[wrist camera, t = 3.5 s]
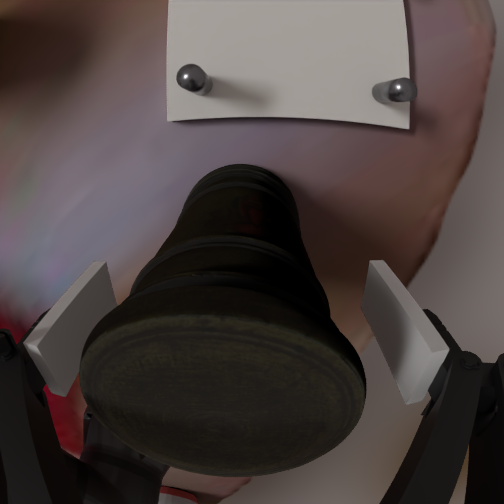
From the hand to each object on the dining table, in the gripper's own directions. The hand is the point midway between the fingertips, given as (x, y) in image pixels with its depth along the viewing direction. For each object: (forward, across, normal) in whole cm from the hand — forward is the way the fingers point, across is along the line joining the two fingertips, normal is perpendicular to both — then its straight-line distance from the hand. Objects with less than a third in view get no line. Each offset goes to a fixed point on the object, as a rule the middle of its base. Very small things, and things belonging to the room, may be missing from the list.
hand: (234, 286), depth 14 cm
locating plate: (+10, -4, -17) cm, 20 cm away
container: (+10, 0, 0) cm, 10 cm away
